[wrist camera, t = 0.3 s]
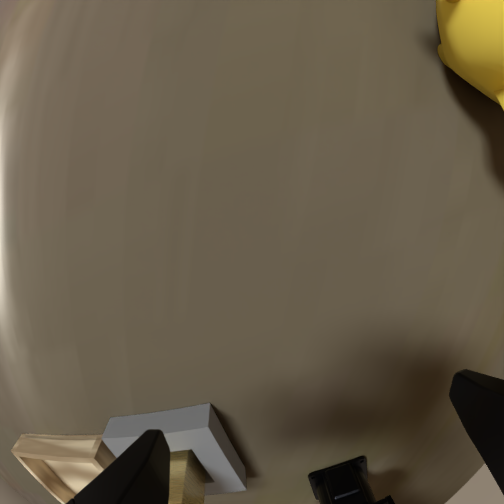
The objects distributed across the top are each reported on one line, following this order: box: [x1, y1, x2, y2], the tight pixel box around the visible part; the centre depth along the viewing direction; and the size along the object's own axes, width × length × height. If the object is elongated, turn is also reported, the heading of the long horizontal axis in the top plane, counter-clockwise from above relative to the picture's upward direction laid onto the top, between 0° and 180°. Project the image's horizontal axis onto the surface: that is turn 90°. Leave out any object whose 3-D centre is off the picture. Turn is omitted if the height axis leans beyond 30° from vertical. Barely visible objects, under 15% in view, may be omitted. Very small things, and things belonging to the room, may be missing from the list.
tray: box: [11, 433, 116, 504], centre depth 24 cm, size 14×14×4 cm
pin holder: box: [101, 403, 247, 496], centre depth 23 cm, size 10×10×3 cm
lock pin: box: [168, 449, 206, 504], centre depth 20 cm, size 4×4×9 cm
